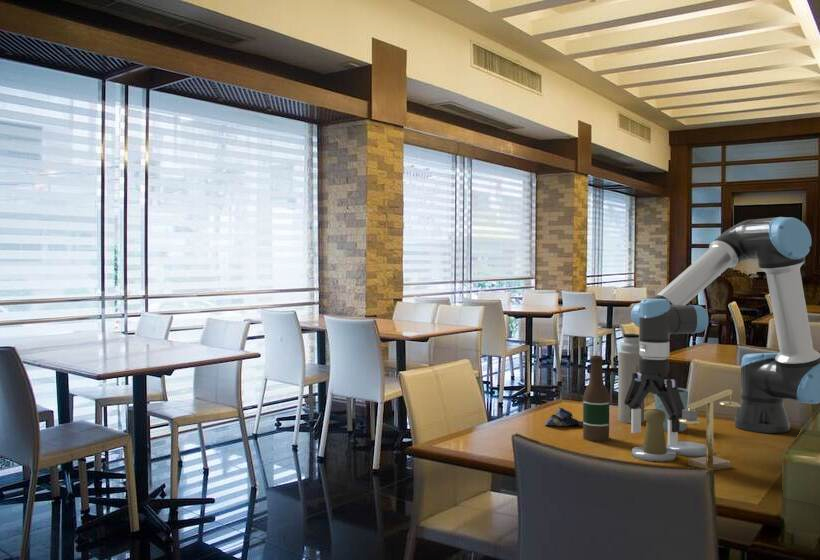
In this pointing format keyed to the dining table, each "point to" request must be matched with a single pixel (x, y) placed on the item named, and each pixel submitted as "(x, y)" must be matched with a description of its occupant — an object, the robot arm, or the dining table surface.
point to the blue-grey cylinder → (660, 406)
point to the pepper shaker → (654, 432)
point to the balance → (708, 429)
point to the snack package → (562, 418)
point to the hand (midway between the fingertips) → (653, 438)
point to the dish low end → (653, 455)
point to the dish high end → (688, 448)
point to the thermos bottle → (627, 374)
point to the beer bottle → (596, 405)
